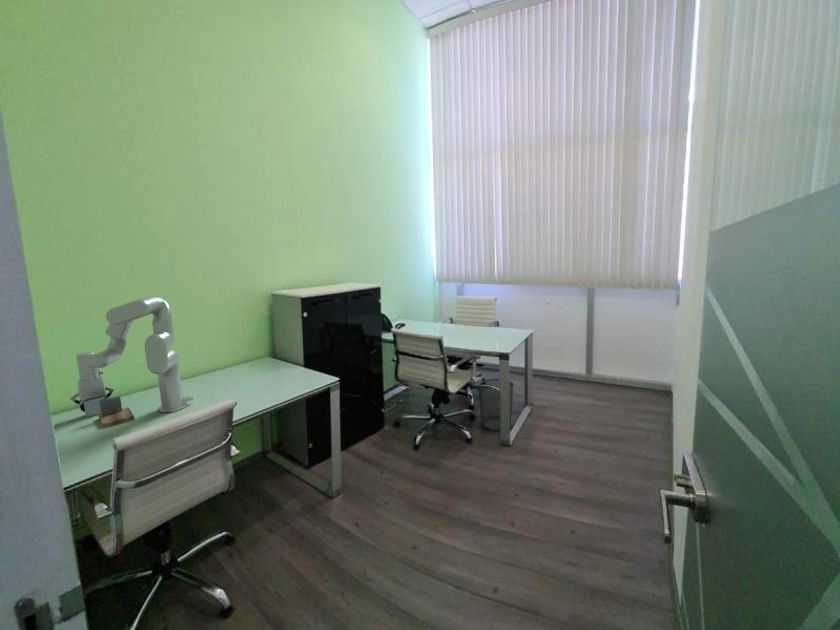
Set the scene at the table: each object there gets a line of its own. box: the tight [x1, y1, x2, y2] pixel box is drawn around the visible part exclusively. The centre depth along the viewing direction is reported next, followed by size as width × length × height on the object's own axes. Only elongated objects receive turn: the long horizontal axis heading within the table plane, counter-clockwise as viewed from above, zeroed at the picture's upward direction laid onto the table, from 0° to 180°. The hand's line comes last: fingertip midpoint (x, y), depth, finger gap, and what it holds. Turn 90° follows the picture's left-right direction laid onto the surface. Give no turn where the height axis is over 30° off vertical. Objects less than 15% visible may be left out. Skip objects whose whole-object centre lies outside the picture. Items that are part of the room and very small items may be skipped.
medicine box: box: [83, 396, 104, 418], centre depth 192 cm, size 8×4×9 cm, turn 139°
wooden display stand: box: [98, 395, 135, 429], centre depth 186 cm, size 12×14×10 cm
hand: (94, 408), depth 192 cm, fingers closed on medicine box, 8 cm apart
